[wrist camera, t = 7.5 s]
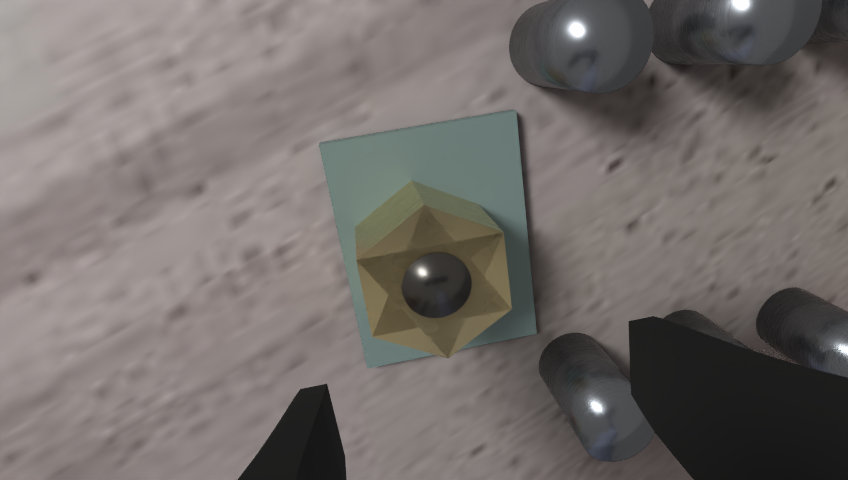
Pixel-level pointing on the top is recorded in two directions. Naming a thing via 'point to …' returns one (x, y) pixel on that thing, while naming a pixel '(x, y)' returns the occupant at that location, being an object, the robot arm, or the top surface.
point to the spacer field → (613, 69)
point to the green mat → (446, 171)
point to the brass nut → (431, 270)
